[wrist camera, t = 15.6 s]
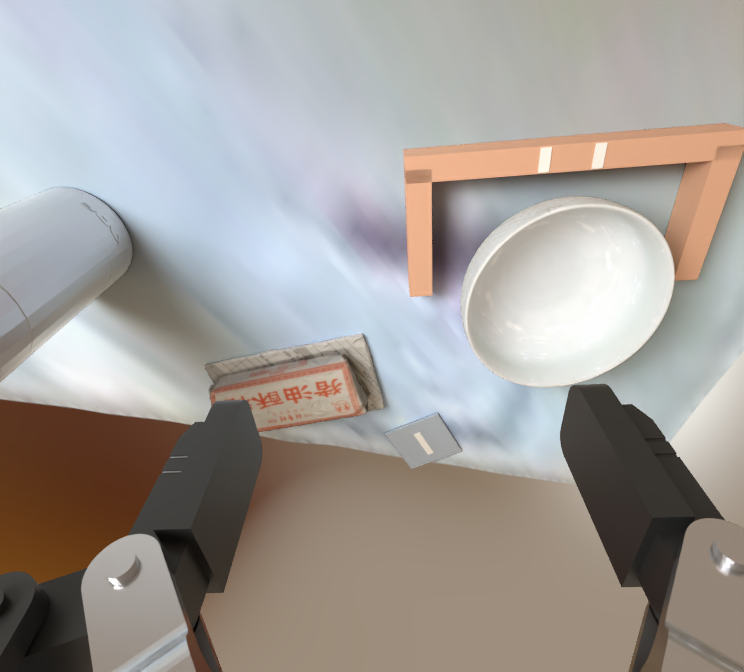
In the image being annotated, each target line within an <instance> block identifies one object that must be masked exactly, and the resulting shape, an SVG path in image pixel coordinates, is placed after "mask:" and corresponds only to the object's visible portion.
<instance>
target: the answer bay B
mask: <svg viewBox="0 0 744 672" xmlns="http://www.w3.org/2000/svg"><path fill="white" fill-rule="evenodd" d="M403 150H404V176H405V202H406V228H407V254H408V280H409V291H410V297H414V296H430V295H432V182H440V181H454V180H467V179H480V178H493V177H506V176H519V175H532V174H545V173H558V172H571V171H585V170H598V169H611V168H624V167H637V166H650V165H663V164H676V163H686V167H685V170H684V173H683V177H682V180H681V184H680V187H679V190H678V194H677V197H676V200H675V204H674V207H673V210H672V214H671V217H670V220H669V224H668V227H667V230H666V234H665V237H664V238H665V239H666V241H667V243H668V245H669V248H670V250H671V253H672V257H673V262H674V270H675V281H679V280H696V279H698V276H699V273H700V271H701V268H702V265H703V262H704V260H705V257H706V254H707V251H708V248H709V246H710V243H711V240H712V237H713V235H714V232H715V229H716V226H717V223H718V221H719V218H720V215H721V212H722V210H723V207H724V204H725V201H726V199H727V196H728V193H729V190H730V187H731V185H732V182H733V179H734V176H735V174H736V171H737V168H738V165H739V163H740V160H741V157H742V154H743V151H744V128H743V127H739V126H734V125H730V124H726V123H722V124H709V125H697V126H685V127H673V128H660V129H648V130H636V131H623V132H611V133H599V134H586V135H574V136H562V137H550V138H537V139H525V140H513V141H500V142H488V143H476V144H463V145H451V146H439V147H426V148H414V149H403Z"/></svg>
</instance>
